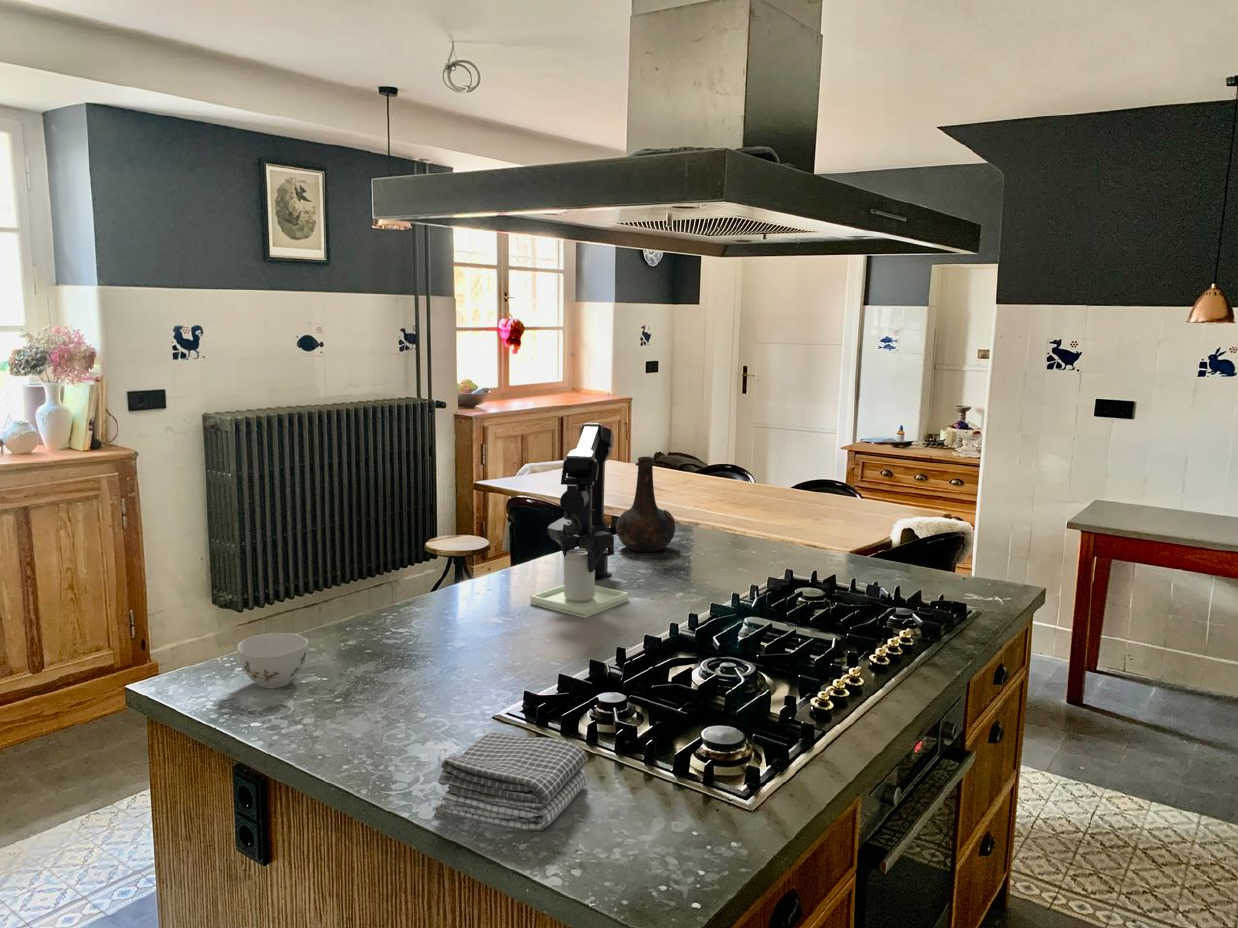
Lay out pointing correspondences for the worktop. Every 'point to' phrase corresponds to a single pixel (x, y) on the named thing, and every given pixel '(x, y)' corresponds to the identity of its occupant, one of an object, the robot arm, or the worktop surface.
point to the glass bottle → (645, 515)
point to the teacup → (272, 658)
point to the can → (578, 576)
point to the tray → (598, 603)
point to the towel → (512, 781)
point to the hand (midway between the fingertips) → (579, 568)
